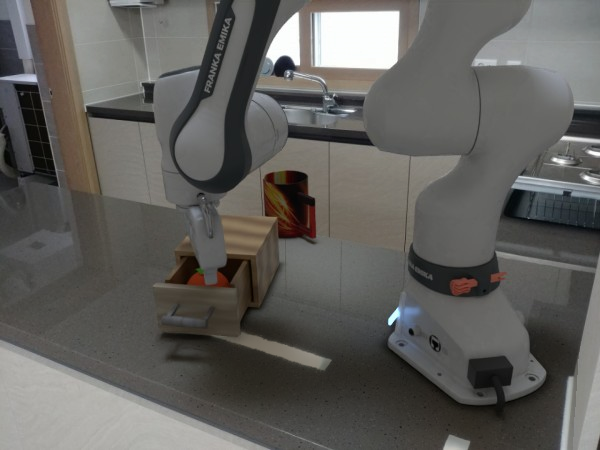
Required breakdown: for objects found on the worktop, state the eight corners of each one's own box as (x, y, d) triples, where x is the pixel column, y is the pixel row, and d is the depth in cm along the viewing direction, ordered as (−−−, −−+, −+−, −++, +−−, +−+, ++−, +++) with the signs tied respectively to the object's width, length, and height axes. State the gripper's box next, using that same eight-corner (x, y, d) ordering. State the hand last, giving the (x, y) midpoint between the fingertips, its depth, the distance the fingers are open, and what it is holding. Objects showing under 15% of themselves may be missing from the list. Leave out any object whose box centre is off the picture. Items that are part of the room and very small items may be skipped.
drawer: (229, 357, 76) (224, 309, 72) (145, 350, 78) (137, 303, 75) (262, 288, 93) (259, 247, 90) (193, 283, 95) (188, 243, 92)
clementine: (177, 306, 86) (172, 267, 83) (215, 292, 90) (211, 254, 87) (200, 328, 80) (195, 287, 78) (240, 312, 84) (237, 272, 81)
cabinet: (259, 307, 89) (255, 255, 85) (181, 301, 91) (174, 250, 88) (279, 263, 103) (277, 217, 99) (211, 259, 106) (206, 213, 102)
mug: (314, 244, 111) (313, 189, 106) (257, 233, 117) (254, 181, 112) (333, 227, 118) (333, 175, 114) (279, 217, 124) (277, 168, 120)
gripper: (233, 204, 69) (241, 297, 74) (205, 162, 86) (213, 240, 92) (183, 211, 67) (195, 307, 72) (165, 167, 85) (176, 247, 90)
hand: (205, 269), depth 82 cm, fingers open, 7 cm apart
